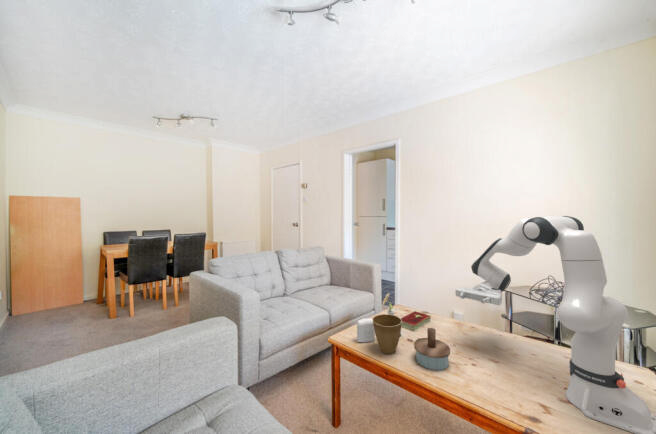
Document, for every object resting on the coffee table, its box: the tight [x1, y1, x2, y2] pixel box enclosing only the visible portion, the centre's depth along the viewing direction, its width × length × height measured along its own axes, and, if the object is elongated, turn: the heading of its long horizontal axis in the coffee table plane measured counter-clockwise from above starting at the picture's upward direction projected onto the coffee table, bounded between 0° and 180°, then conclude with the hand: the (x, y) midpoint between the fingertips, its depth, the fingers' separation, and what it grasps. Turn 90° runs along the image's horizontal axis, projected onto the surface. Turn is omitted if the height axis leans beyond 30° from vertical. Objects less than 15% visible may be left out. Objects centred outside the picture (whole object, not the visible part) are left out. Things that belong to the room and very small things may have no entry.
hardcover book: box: [400, 310, 432, 332], centre depth 161 cm, size 12×21×4 cm, turn 132°
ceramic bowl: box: [415, 350, 449, 371], centre depth 120 cm, size 14×14×6 cm
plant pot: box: [371, 313, 402, 355], centre depth 131 cm, size 15×15×16 cm
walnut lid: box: [413, 327, 451, 358], centre depth 120 cm, size 16×16×9 cm
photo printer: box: [356, 318, 376, 343], centre depth 141 cm, size 10×4×12 cm, turn 103°
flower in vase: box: [382, 293, 402, 335], centre depth 147 cm, size 13×11×25 cm
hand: (471, 299), depth 122 cm, fingers open, 8 cm apart
